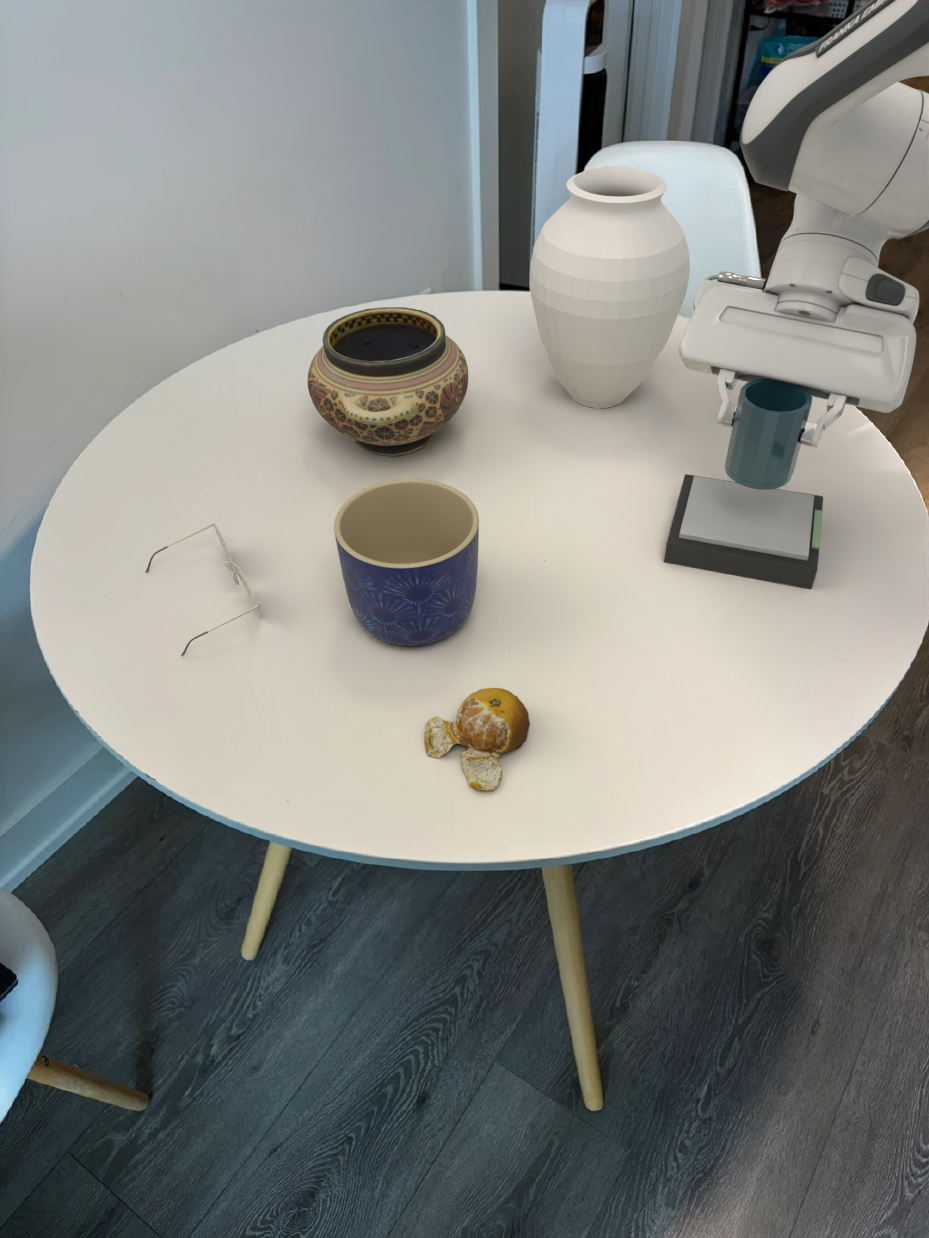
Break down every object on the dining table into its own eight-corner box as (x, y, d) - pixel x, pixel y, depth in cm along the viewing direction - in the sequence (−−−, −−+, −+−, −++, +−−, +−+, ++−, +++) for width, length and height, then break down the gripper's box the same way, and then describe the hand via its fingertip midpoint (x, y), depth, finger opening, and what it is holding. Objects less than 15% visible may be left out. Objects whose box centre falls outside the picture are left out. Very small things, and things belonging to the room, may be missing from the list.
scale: (817, 515, 96) (824, 491, 94) (811, 589, 87) (819, 564, 85) (681, 493, 99) (685, 469, 97) (663, 562, 91) (667, 537, 89)
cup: (793, 458, 89) (813, 383, 83) (789, 494, 85) (810, 418, 79) (728, 448, 90) (743, 374, 85) (720, 483, 86) (736, 408, 81)
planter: (323, 604, 87) (307, 511, 80) (431, 553, 92) (425, 462, 85) (393, 681, 80) (383, 587, 72) (506, 622, 85) (508, 528, 78)
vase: (606, 345, 123) (624, 144, 106) (701, 401, 113) (739, 186, 95) (498, 385, 116) (498, 176, 99) (588, 448, 105) (607, 226, 88)
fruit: (411, 741, 75) (408, 712, 73) (482, 686, 79) (482, 656, 77) (485, 800, 71) (484, 771, 68) (556, 739, 75) (558, 709, 72)
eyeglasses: (268, 628, 85) (257, 597, 82) (184, 664, 83) (170, 633, 80) (223, 545, 94) (211, 515, 91) (146, 575, 92) (132, 545, 89)
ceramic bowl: (358, 400, 120) (315, 291, 110) (490, 371, 115) (457, 256, 106) (321, 515, 102) (265, 398, 92) (475, 487, 98) (433, 361, 88)
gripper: (701, 253, 84) (652, 398, 85) (939, 295, 77) (883, 453, 78) (708, 282, 90) (662, 417, 91) (930, 323, 83) (878, 470, 84)
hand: (766, 434), depth 84 cm, fingers closed on cup, 6 cm apart
